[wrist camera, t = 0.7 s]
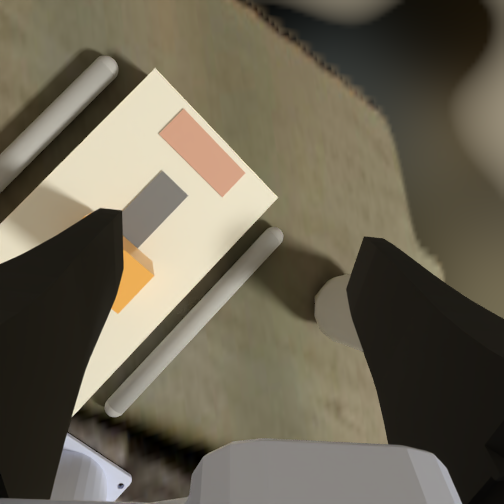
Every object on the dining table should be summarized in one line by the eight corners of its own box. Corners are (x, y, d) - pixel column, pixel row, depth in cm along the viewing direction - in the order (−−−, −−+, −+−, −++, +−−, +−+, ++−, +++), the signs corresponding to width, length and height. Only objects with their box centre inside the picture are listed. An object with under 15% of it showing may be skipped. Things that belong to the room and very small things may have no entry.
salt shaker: (307, 268, 35) (397, 313, 23) (367, 268, 37) (482, 310, 24) (302, 334, 36) (387, 411, 24) (361, 331, 38) (470, 403, 25)
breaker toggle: (121, 293, 28) (117, 314, 24) (62, 244, 27) (45, 256, 22) (152, 261, 28) (154, 275, 24) (94, 210, 27) (84, 215, 22)
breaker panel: (72, 402, 32) (65, 424, 29) (-69, 304, 28) (-94, 317, 26) (266, 196, 33) (278, 197, 30) (153, 79, 30) (155, 67, 27)
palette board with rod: (117, 414, 33) (115, 425, 31) (-101, 259, 28) (-115, 263, 26) (283, 235, 34) (290, 237, 33) (106, 54, 29) (104, 47, 27)
